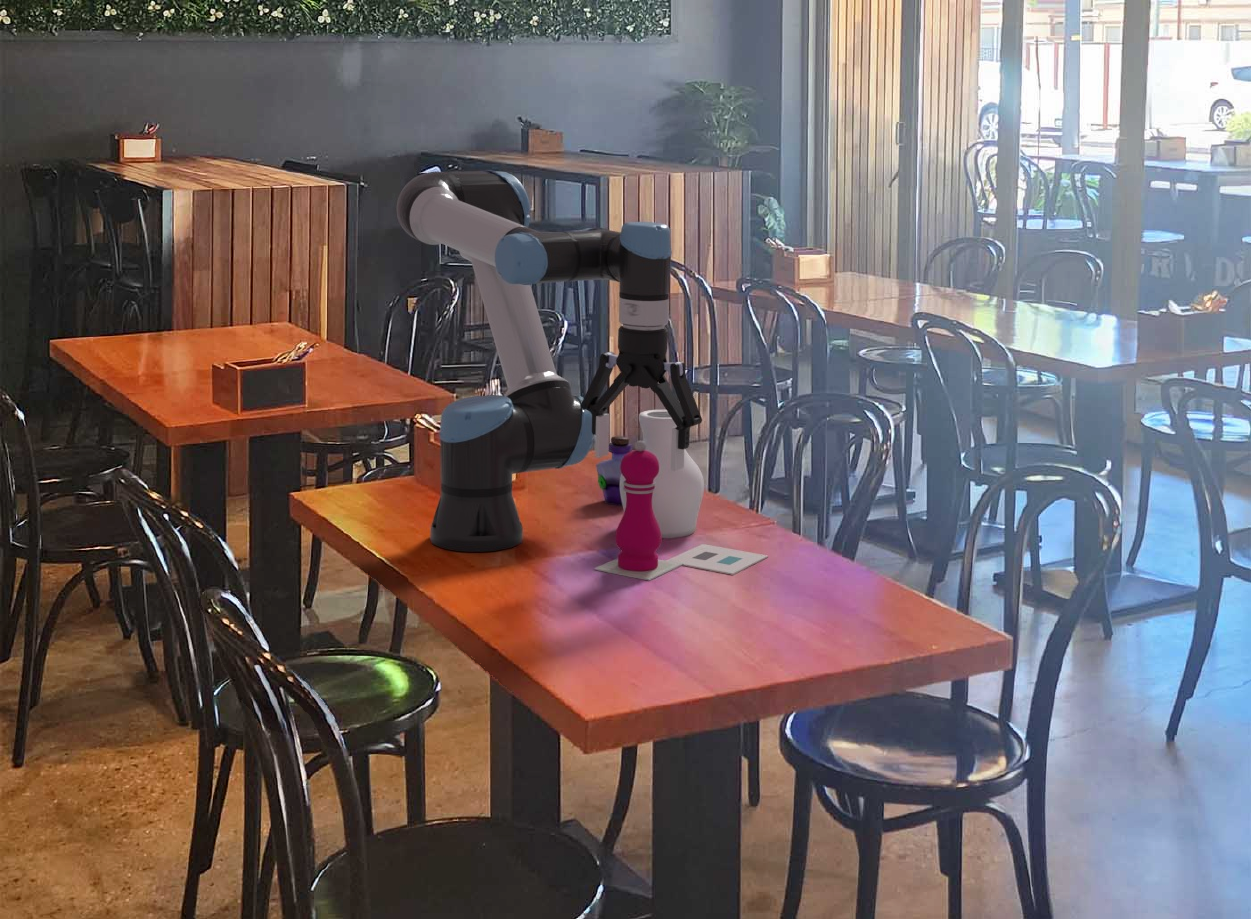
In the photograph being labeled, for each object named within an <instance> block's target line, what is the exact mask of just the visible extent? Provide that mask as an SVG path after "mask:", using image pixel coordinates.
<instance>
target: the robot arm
mask: <svg viewBox="0 0 1251 919" xmlns="http://www.w3.org/2000/svg"><path fill="white" fill-rule="evenodd" d="M530 212H531V203H530V199H529V195H528V194H527V190H526V189H525V187H524V185H523V183H521V181H520V180H519V179H518V178H517V177H516V176H514V175H513V174H510V173H509V172H506V171H495V170H492V169H484V170H479V171H477V170H476V171H471V170H470V171H430V172H426V173H421V174H419V175H417V176H415V177H414V178H412V179H411V180H410V181H407V183H406V184H405V186H404V187H403V188H402V189H401V192H400V193H399V195H398V197H397V203H396V216H397V220H398V222H399V225H400V226H401V227H402V229H403V230H404V232H405V233H406V234H407V235H409V236H410V237H411V238H413V239H415V240H416V241H419V242H421V243H424V244H426V245H433V246H436V245H441V244H442V245H444V246H447V247H449V248H451V249H453V250H456V251H458V252H459V255H460V257H461V258H463V259H465V260H467V261H469V262H471V265H472V269H473V272H474V276H475V279H476V282H477V286H478V290H479V294H480V297H481V299H482V302H483V308H484V310H485V313H486V317H487V321H488V323H489V328H490V331H491V334H492V338H493V341H494V345H495V348H496V352H497V355H498V358H499V362H500V366H501V369H502V373H503V376H504V380H505V383H506V386H507V387H506V388H507V391H506V392H505V393H504V395H499V394H498V395H497V394H487V395H474V396H470V397H465V398H461V399H457V400H455V401H453V402H451V403H449V404H447V405H446V406H445V408H444V409H443V410H442V412H441V416H440V426H439V433H438V435H439V439H440V446H439V447H440V449H439V450H440V496H439V500H438V503H437V507H436V509H435V513H434V515H433V519H432V522H431V525H430V542H431V543H432V544H433V545H434V546H436V547H438V548H441V549H445V550H449V551H455V552H456V551H457V552H469V553H471V552H472V553H480V552H495V551H502V550H506V549H510V548H514V547H515V546H518V545H519V544H521V543H522V542H523V538H524V535H523V534H524V532H523V530H524V529H523V524H522V522H521V519H520V516H519V512H518V509H517V504H516V503H515V499H514V496H513V475H514V474H521V473H528V472H535V471H544V470H551V469H556V470H557V469H559V470H560V469H563V468H564V467H569V466H573V465H577V464H580V463H581V462H582V461H584V459H586V457H587V456H588V454H589V452H590V451H591V448H592V444H593V441H594V437H595V443H594V444H595V445H594V446H595V448H594V449H595V450H594V458H598V459H600V458H602V457H606V456H608V455H609V454H610V452H609V443H610V413H605V412H607V410H608V408H610V406H611V405H612V403H613V402H615V400H616V399H617V398H618V397H619V395H621V393H622V392H623V391H624V389H625V388H627V387H628V385H629V387H640V388H641V389H650V390H651V391H652V392H653V393H654V394H655V395H656V396H657V397H658V399H659V400H660V402H661V403H662V405H663V407H664V408H665V410H667V412H668V413H669V415H670V416H671V418H672V419H673V421H674V423H675V424H676V426H677V427H675V428H672V443H671V471H676V470H679V469H682V468H684V449H685V450H687V449H689V446H690V436H691V435H690V434H691V433H690V432H691V427H694V426H697V425H700V424H702V422H703V418H702V415H701V413H700V411H699V410H700V409H699V408H698V405H697V401H696V399H695V397H694V394H693V391H692V389H691V386H690V383H689V380H688V378H687V374H686V373H687V372H686V364H685V362H684V361H682V360H681V361H676V362H668V360H667V357H666V356H667V351H668V343H669V342H668V338H669V337H668V336H669V330H668V329H667V328H668V327H665V326H666V325H668V324H669V312H670V311H669V310H670V308H669V307H670V305H669V304H670V280H671V259H672V258H671V257H672V254H673V252H672V245H671V243H672V242H671V241H672V240H671V239H672V238H671V229H670V227H669V226H668V225H667V224H665V223H661V222H651V221H629V222H625V223H623V224H622V226H621V231H616V230H610V229H607V228H605V227H599V228H598V227H587V228H584V229H582V230H578V231H557V232H555V231H554V232H551V231H550V232H543V231H539V230H535V229H532V228H531V227H529V225H530V222H531V216H530V214H529V213H530ZM594 280H595V281H597V280H598V281H599V280H605V281H607V280H608V281H612V282H617V283H619V292H618V294H619V296H618V299H619V301H618V302H619V304H618V322H619V324H621V325H620V326H619V328H617V330H618V331H617V333H618V334H617V349H618V355H617V354H615V353H614V352H613V351H608V352H604V353H601V354H600V356H599V364H598V368H597V370H596V372H595V374H594V376H593V379H591V382H590V385H589V387H588V389H587V391H586V393H585V395H584V397H583V396H580V395H577V394H573V393H572V389H571V386H570V383H569V381H568V380H567V379H566V378H564V377H561V376H560V375H558V374H557V370H556V367H555V364H554V361H553V356H552V354H551V351H550V348H549V344H548V340H547V337H546V334H545V330H544V328H543V324H542V320H541V317H540V314H539V310H538V306H537V303H536V299H535V297H534V294H533V290H532V287H531V285H536V284H547V283H549V284H550V283H561V282H562V283H563V282H578V281H579V282H580V281H594ZM616 365H617V368H618V370H619V371H620V372H619V373H618V375H616V376H615V379H614V380H613V381H612V382H613V383H611V385H610V386H609V387H608V388H607V389H606V390H605V392H604V393H603V390H604V389H605V387H606V385H607V383H608V381H609V378H610V376H611V374H612V372H613V370H614V368H615V367H616ZM666 373H667V375H668V376H669V377H670V380H671V383H672V386H673V388H674V391H673V390H672V389H671V387H670V382H669V380H668V379H667V378H666V376H665V374H666ZM674 392H675V393H674ZM602 393H603V394H602ZM675 394H676V395H675Z"/></svg>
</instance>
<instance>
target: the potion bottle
mask: <svg viewBox="0 0 1251 919" xmlns="http://www.w3.org/2000/svg"><path fill="white" fill-rule="evenodd" d="M631 451H633V444H632V443H630V438H629V437H627V436H621V435H620V436H619V435H614V436H611V438H610V442H609V453H611V458H610V459H605V460H601V461H600V462H598V463H596V464H595V467H596V468H595V469H596V472H597V476H598V477H597V483H598V487H600V490H601V491H602V494H603V498H604V501H603V502H604V503H606V504H607V505H611V506H623V505H622V500H621V495H620V477H621V474H622V473H621V469H620V466H621V461H622V459H623V457H624V456H625V455H626V454H627V453H629V452H631Z"/></svg>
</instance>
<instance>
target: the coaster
mask: <svg viewBox="0 0 1251 919" xmlns="http://www.w3.org/2000/svg"><path fill="white" fill-rule="evenodd" d="M682 566H683V565H682V564H680V563H675V562H670V561H666V560H664V559H659V558H658V566H657V568H655V569H653V570H649V571H629V570H625V569H622V568H620V567H619V566H618V557H617V558H615V559H613V560H610V561H608V562H606V563H604V564H601V565H599V566H596V567H594V568H593V569H594V571H599V572H604V573H609V574H613V575H619V576H622V577H623V576H624V577H629V578H634V579H639V580H645V581H648V582H649V581H652V580H654V579H656V578H659V577H660V576H662V575H665V574H667V573H669V572H671V571H673V570H676V569H677V568H680V567H682Z"/></svg>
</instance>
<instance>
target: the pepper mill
mask: <svg viewBox="0 0 1251 919" xmlns="http://www.w3.org/2000/svg"><path fill="white" fill-rule="evenodd" d="M634 449H635V450H632V451H631V452H629V453H627V454H626V455H625V456H624V457H623V459H622V461H621V466H620V469H621V473H622V475H623V476H624V477H625V479H626V480H625V481H624V482H623V484H624V488H623V490H624V491H625V492H626V508H625V512H624V511H623V514H622V517H621V520H620V521H619V524H618V525H617V528H616V532H615V539H614V541H615V544H616V546H617V547H618V549H619V550H620V552H619V553H618V555H617V558H618V566H619V567H620V568H622V569H625V570H629V571H649V570H653V569H655V568H657V566H658V559H659V555H658V553H656V551H657V550H658V549H659V548H660V546H661V545H662V539H663V538H661V531H660V528H659V525H658V523H657V520H656V518H655V515H654V513H653V508H652V495H653V492H654V491H655V490H656V488H655V485H656V483H655V481H653V480H654V478H655V477H656V476H657V475H658V473H659V462H658V459H657V458H656V456H655V455H654V454H652V453H651V452H649V451H645V449H646V444H645V442H643V440H637V441H636V442H635V443H634Z"/></svg>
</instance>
